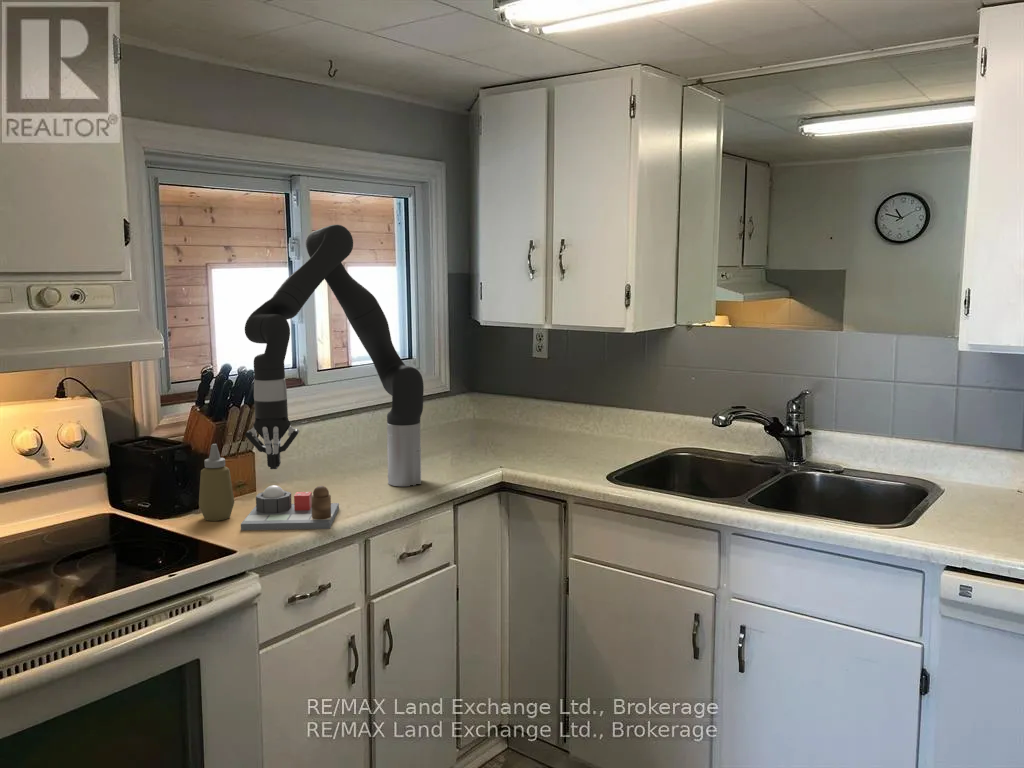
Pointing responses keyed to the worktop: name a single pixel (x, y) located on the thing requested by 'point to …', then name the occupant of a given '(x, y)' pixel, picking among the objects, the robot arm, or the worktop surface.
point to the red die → (302, 501)
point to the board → (284, 515)
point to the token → (321, 503)
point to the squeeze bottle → (215, 488)
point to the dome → (273, 492)
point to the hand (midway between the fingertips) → (274, 468)
